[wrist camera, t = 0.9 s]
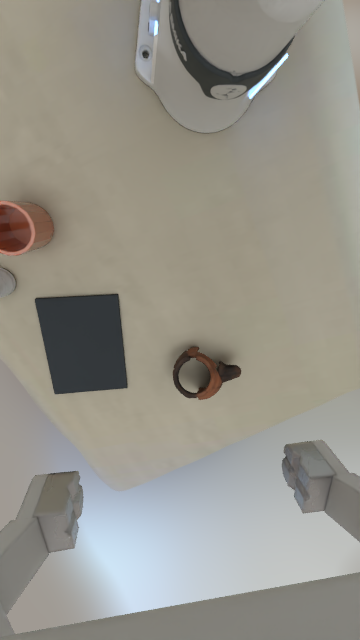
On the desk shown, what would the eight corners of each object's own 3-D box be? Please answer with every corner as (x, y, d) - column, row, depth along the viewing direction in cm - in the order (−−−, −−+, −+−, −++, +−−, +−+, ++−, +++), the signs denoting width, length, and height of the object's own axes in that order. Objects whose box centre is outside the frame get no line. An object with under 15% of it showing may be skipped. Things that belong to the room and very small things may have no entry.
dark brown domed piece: (186, 397, 56) (175, 409, 48) (175, 350, 57) (162, 355, 49) (246, 385, 53) (245, 396, 45) (234, 336, 54) (230, 339, 46)
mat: (35, 298, 45) (34, 299, 45) (117, 294, 47) (117, 295, 46) (55, 392, 52) (54, 394, 51) (127, 386, 53) (127, 388, 53)
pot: (3, 203, 40) (-29, 201, 33) (49, 202, 41) (29, 200, 33) (13, 248, 42) (-14, 256, 35) (57, 247, 43) (39, 254, 36)
